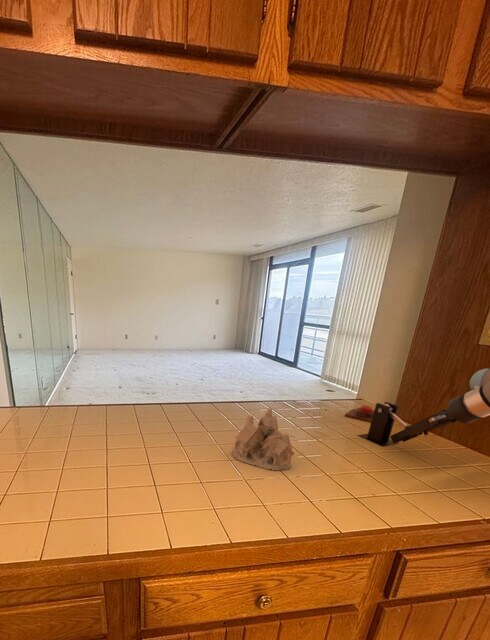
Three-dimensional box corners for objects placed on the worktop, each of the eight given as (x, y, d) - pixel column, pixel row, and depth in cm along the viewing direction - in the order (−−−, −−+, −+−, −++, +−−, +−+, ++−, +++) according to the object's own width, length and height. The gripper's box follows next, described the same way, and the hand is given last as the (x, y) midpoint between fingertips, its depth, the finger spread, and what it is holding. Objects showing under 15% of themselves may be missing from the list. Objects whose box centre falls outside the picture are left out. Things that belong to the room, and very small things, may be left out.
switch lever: (416, 439, 109) (424, 431, 106) (409, 441, 108) (416, 433, 105) (383, 410, 118) (390, 402, 116) (376, 411, 117) (382, 403, 114)
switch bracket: (398, 446, 117) (410, 407, 112) (381, 449, 114) (393, 410, 109) (372, 435, 126) (382, 399, 120) (356, 438, 123) (365, 401, 117)
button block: (383, 420, 141) (385, 411, 139) (376, 426, 134) (379, 417, 132) (351, 413, 148) (353, 404, 147) (344, 418, 141) (346, 409, 140)
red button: (372, 411, 140) (373, 407, 139) (369, 413, 137) (370, 409, 136) (361, 409, 142) (362, 405, 142) (358, 411, 139) (359, 407, 139)
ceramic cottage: (227, 447, 112) (234, 404, 105) (275, 448, 114) (285, 406, 107) (241, 474, 98) (251, 426, 92) (296, 474, 100) (309, 427, 94)
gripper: (484, 390, 97) (409, 425, 117) (445, 396, 91) (373, 431, 111) (499, 414, 94) (419, 445, 115) (461, 421, 88) (384, 453, 109)
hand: (397, 438), depth 113 cm, fingers closed on switch lever, 4 cm apart
